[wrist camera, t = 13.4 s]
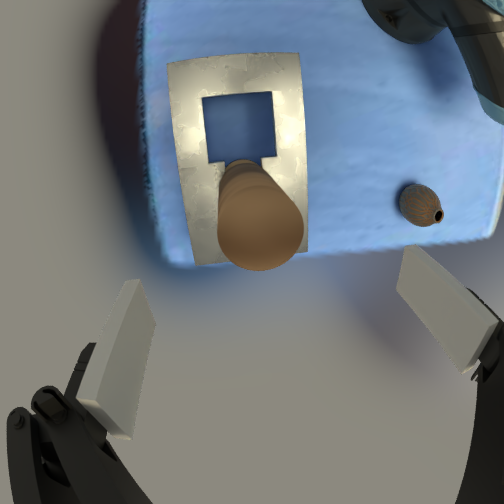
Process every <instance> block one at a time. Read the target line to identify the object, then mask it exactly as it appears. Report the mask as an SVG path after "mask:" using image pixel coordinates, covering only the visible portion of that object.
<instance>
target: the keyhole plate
mask: <svg viewBox="0 0 504 504" xmlns="http://www.w3.org/2000/svg"><path fill="white" fill-rule="evenodd" d="M167 75H168V87H169V97H170V107H171V116H172V125H173V133H174V141H175V148H176V156H177V163H178V170H179V176H180V183H181V189H182V195H183V201H184V207H185V213H186V219H187V224H188V230H189V235H190V240H191V246H192V251H193V256H194V261H195V265H196V266H197V265H205V264H214V263H222V262H230V260H229V259H228V258H227V257H226V256H225V255H224V253H223V252H222V250H221V248H220V245H219V243H218V238H217V220H218V194H219V184H220V180H221V178H222V176H223V175H224V173H225V163H224V161H216V162H209V158H208V150H207V141H206V132H205V123H204V113H203V103H202V98H208V97H216V96H225V95H235V94H248V93H265V92H270V94H271V106H272V119H273V132H274V146H275V156H265V157H260V161H261V167H262V168H263V169H264V170H265V171H267V173H268V174H269V175H270V176H271V177H272V178H273V179H274V180H275V182H276V183H277V184H278V185H279V186H280V187H281V188H282V189H283V191H284V192H285V193H286V194H287V195H288V196H289V198H290V199H291V200H292V201H293V202H294V203H295V205H296V206H297V207H298V209H299V211H300V212H301V215H302V218H303V222H304V234H303V239H302V242H301V244H300V246H299V248H298V250H297V251H296V253H303V252H308V191H307V157H306V136H305V118H304V104H303V91H302V79H301V68H300V58H299V53H283V52H271V53H243V54H229V55H219V56H210V57H202V58H195V59H189V60H183V61H177V62H172V63H167Z"/></svg>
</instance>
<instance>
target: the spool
mask: <svg viewBox="0 0 504 504" xmlns="http://www.w3.org/2000/svg"><path fill="white" fill-rule="evenodd" d="M303 234H304V222H303V218H302V215H301V212H300V211H299V209H298V207H297V206H296V205H295V203H294V202H293V201H292V200H291V199H290V198H289V196H288V195H287V194H286V193H285V192H284V191H283V189H282V188H281V187H280V186H279V185H278V184H277V183H276V182H275V180H274V179H273V178H272V177H271V176H270V175H269V174H268V173H267V171H265V170H264V169H263V168H262V167H260V166H259V165H258V164H257V163H255V162H253V161H251V160H247V159H240V160H236V161H233V162H231V163H230V164H229V165H227V167H226V168H225V173H224V175H223V176H222V178H221V180H220V184H219V194H218V220H217V238H218V243H219V245H220V248H221V250H222V252H223V253H224V255H225V256H226V257H227V258H228V259H229V260H230V261H231V262H232V263H234V264H235V265H237V266H239V267H241V268H244V269H247V270H253V271H264V270H269V269H273V268H275V267H278V266H280V265H282V264H284V263H285V262H286V261H288V260H289V259H290V258H291V257H292V256H293V255H294V254H295V253H296V251H297V250H298V248H299V246H300V244H301V242H302V239H303Z"/></svg>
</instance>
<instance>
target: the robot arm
mask: <svg viewBox="0 0 504 504" xmlns="http://www.w3.org/2000/svg"><path fill="white" fill-rule="evenodd" d="M362 1H363V4H364V6H365V8H366V10H367V11H368V13H369V14H370V16H371V17H372V18H373V20H374V21H375V22H376V23H377V24H378V25H379V26H380V27H381V28H382V29H383V30H384V31H385V32H387V33H388V34H389V35H391V36H392V37H394V38H396V39H398V40H400V41H402V42H405V43H409V44H420V43H424V42H427V41H430V40H431V39H433V38H434V36H435V35H437V34H438V33H439V32H440V31H441V30H443V29H444V28H445V27H449V29H450V31H451V33H452V35H453V37H454V39H455V41H456V43H457V45H458V47H459V50H460V52H461V54H462V57H463V59H464V61H465V64H466V66H467V69H468V71H469V74H470V77H471V79H472V82H473V88H474V90H475V91H476V92H477V95H478V98H479V101H480V103H481V106H482V108H483V110H484V112H485V113H486V114H487V115H488V116H489V117H490V118H491V119H493V120H494V121H496V122H498V123H500V124H502V125H504V0H362ZM396 290H397V292H398V293H399V294H400V295H401V296H402V298H403V299H404V300H405V301H406V302H407V303H408V305H409V306H410V307H411V308H412V310H413V311H414V312H415V313H416V314H417V316H418V317H419V318H420V319H421V321H422V322H423V323H424V324H425V326H426V327H427V328H428V330H429V331H430V332H431V333H432V335H433V336H434V337H435V339H436V340H437V341H438V343H439V344H440V345H441V347H442V348H443V349H444V351H445V352H446V353H447V355H448V356H449V358H450V359H451V360H452V362H453V363H454V365H455V366H456V368H457V369H458V370H459V372H460V373H461V374H463V373H464V372H466V371H468V370H470V369H472V367H473V366H474V364H475V363H476V361H477V359H479V360H480V362H481V363H480V365H479V366H478V368H477V369H476V371H475V372H474V374H473V375H472V377H471V380H473V379H474V378H475V376H476V375H478V377H477V378H476V380H475V381H477V382H478V385H477V401H476V411H475V420H474V428H473V434H472V440H471V446H470V451H469V456H468V460H467V465H466V469H465V473H464V477H463V480H462V484H461V487H460V490H459V494H458V497H457V500H456V502H455V504H504V322H503V321H502V320H501V319H500V318H499V317H498V316H497V315H496V314H495V313H494V312H493V311H492V310H491V309H490V308H489V307H488V306H487V305H486V304H484V302H483V301H482V300H481V299H479V297H478V296H477V295H476V294H475V293H474V292H473V291H471V290H470V289H468V288H466V287H465V286H463V285H462V284H461V283H460V282H459V281H458V280H457V279H456V278H455V277H453V276H452V275H451V274H450V273H449V272H448V271H447V270H446V269H445V268H443V267H442V266H441V265H440V264H439V263H438V262H436V261H435V260H434V259H433V258H431V257H430V256H429V255H428V254H427V253H426V252H424V251H423V250H422V249H421V248H420V247H418V246H417V245H416V244H415V245H408V246H405V249H404V254H403V259H402V264H401V269H400V274H399V279H398V283H397V287H396ZM155 326H156V323H155V320H154V317H153V314H152V312H151V309H150V306H149V303H148V301H147V298H146V295H145V292H144V289H143V286H142V283H141V280H140V279H135V280H126V281H125V283H124V285H123V287H122V289H121V291H120V293H119V295H118V297H117V299H116V301H115V303H114V305H113V308H112V310H111V312H110V314H109V316H108V319H107V320H106V323H105V325H104V327H103V329H102V332H101V334H100V336H99V339H98V341H97V343H89V344H88V345H87V346H86V347H85V349H83V351H82V352H81V354H80V356H79V359H78V363H77V364H76V366H75V368H74V371H73V373H72V376H71V378H70V381H69V383H68V386H67V388H66V391H65V394H64V396H63V395H62V393H61V392H60V391H59V390H58V389H57V388H56V387H54V386H45V387H42V388H40V389H39V390H38V391H37V392H36V393H35V394H34V396H33V398H32V401H31V409H32V410H33V411H34V412H35V413H36V414H34V415H32V414H31V413H29V411H27V409H25V408H23V407H17V408H15V409H14V410H13V411H12V412H10V414H9V416H8V419H7V454H8V467H9V476H10V484H11V490H12V496H13V501H14V504H153V503H152V502H151V501H150V499H149V498H148V497H147V496H146V494H145V493H144V492H143V491H142V490H141V488H140V487H139V486H138V484H137V483H136V482H135V480H134V479H133V477H132V476H131V475H130V473H129V472H128V471H127V469H126V468H125V466H124V465H123V463H122V462H121V460H120V459H119V457H118V456H117V454H116V452H115V451H114V449H113V448H112V446H111V445H110V443H109V442H108V441H107V439H106V435H107V431H108V432H109V433H110V434H111V435H112V436H113V437H114V438H119V439H128V440H132V439H133V432H134V426H135V420H136V414H137V409H138V403H139V398H140V393H141V387H142V383H143V378H144V373H145V368H146V364H147V359H148V355H149V351H150V346H151V342H152V338H153V334H154V330H155Z"/></svg>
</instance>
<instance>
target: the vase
mask: <svg viewBox="0 0 504 504" xmlns="http://www.w3.org/2000/svg"><path fill="white" fill-rule="evenodd" d="M399 207H400V210H401V213H402V214H403V216H404V217H405V218H406V219H407V220H408V221H409V222H410V223H412V224H414V225H416V226H420V227H427V226H430V225H432V224H434V223H440V222H441V221H442V219H443V217H444V212H443V210H442V208H441V204H440V200H439V198H438V196H437V195H436V194H435V192H434V191H433V190H431V189H430V188H428V187H427V186H424V185H420V184H413V185H410V186H408V187H406V188H405V189H404V190H403V192H402V193H401V195H400V199H399Z"/></svg>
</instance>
